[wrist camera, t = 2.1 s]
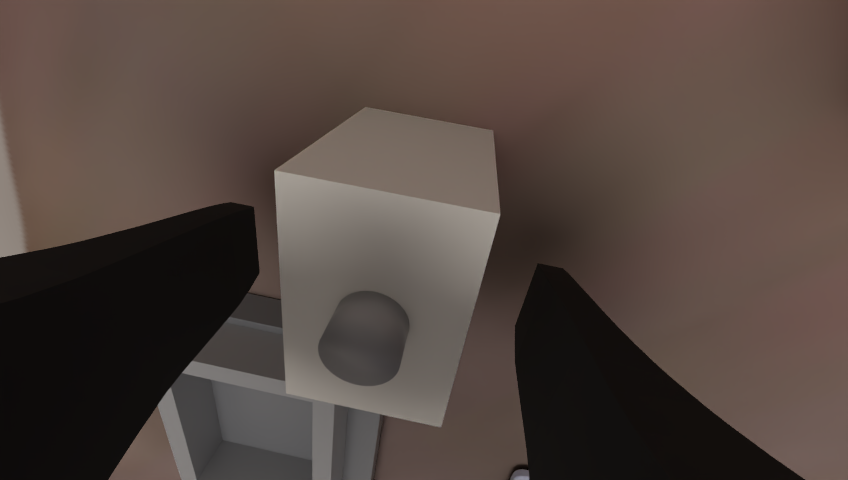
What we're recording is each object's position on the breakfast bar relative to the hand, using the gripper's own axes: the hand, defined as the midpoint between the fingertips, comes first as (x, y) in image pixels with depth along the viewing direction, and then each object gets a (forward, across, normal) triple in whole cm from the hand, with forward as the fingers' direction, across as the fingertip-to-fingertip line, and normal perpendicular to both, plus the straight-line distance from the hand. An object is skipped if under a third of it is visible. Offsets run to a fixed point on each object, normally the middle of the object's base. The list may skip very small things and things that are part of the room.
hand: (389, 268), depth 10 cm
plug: (+4, 0, 0) cm, 4 cm away
